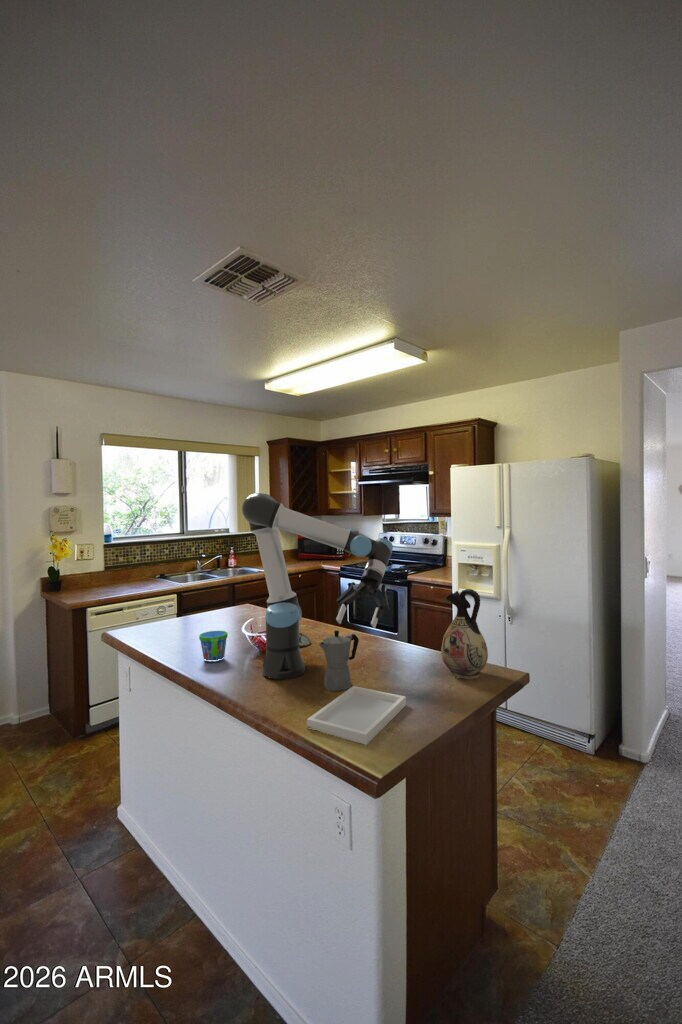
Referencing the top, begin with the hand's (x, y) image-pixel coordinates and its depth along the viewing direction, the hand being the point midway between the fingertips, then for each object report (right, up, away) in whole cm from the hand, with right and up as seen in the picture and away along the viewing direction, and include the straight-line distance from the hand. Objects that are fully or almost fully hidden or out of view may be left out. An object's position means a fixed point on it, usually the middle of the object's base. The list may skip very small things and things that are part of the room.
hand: (355, 623), depth 158 cm
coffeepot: (-5, -18, -9) cm, 21 cm away
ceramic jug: (+38, -17, -3) cm, 42 cm away
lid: (-23, -18, +37) cm, 47 cm away
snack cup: (-54, -19, +19) cm, 60 cm away
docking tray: (0, -18, -31) cm, 36 cm away
